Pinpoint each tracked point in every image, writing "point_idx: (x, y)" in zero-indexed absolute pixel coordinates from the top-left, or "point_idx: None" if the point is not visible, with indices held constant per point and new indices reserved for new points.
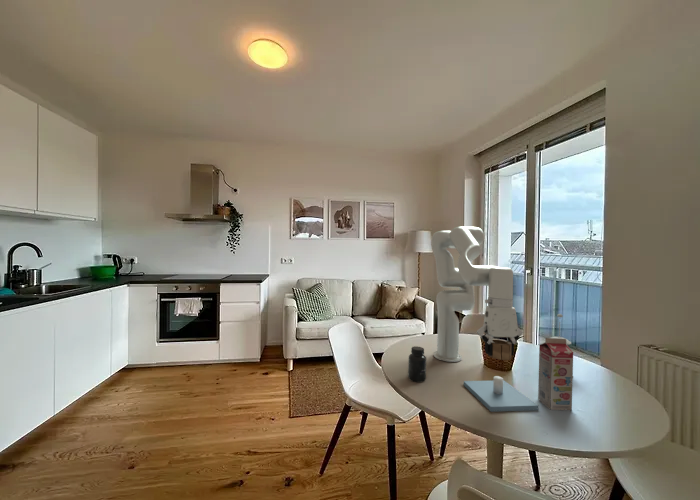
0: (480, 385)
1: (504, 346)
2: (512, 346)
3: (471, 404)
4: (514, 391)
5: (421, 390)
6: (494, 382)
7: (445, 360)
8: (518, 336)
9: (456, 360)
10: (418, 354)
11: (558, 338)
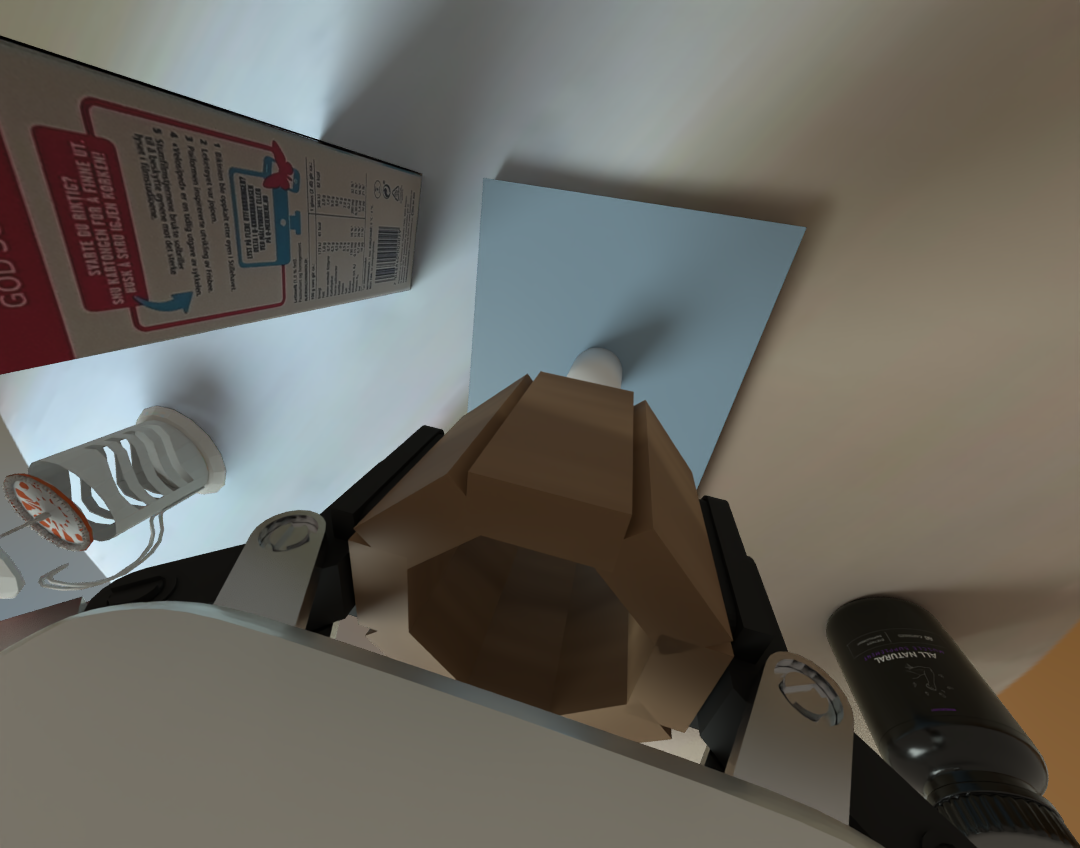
0: None
1: (583, 481)
2: (375, 488)
3: (833, 332)
4: (497, 355)
5: (982, 537)
6: None
7: None
8: (99, 602)
9: None
10: (1036, 796)
11: None
